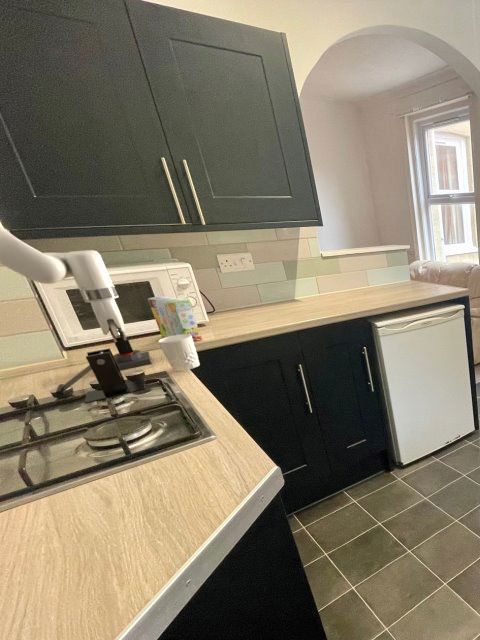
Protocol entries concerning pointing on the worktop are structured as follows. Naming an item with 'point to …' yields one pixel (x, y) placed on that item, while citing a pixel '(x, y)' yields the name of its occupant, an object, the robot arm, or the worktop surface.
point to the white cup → (180, 352)
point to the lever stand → (109, 377)
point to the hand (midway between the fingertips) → (126, 352)
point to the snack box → (174, 316)
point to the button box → (133, 360)
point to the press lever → (72, 381)
